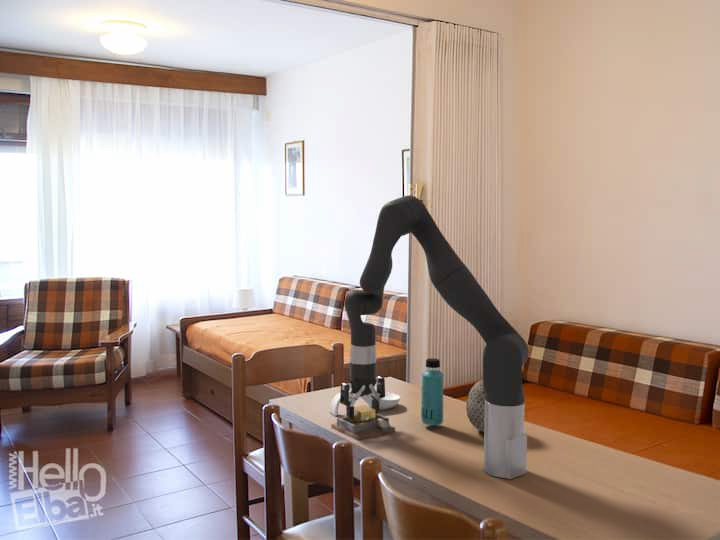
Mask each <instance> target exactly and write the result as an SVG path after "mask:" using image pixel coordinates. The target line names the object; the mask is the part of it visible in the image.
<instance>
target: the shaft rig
mask: <svg viewBox="0 0 720 540" xmlns="http://www.w3.org/2000/svg"><path fill="white" fill-rule="evenodd" d="M346 412H347V411H346V410H345V412H344V414H343V415H344V416H343V417H337V418H336V422H335V423H331V424H330V427H331V429H333V430H336V431H338V432H340V433H341V434H344V435H347V436H348V437H350V438H352V439H355V440H356V441H361V440H364V439H369V438H372V437H376V436H381V435H385V434H389V433H394V432H395V431H396V428H395V427H394V426H392V425H391V424H390V417H387V416H385V415H382V414H380V413H378V414H375V420H374V421H370V422H366V423H361V424H357V425H354V424H351V419H349V418H348V417H347V415H346Z"/></svg>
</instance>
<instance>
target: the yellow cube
mask: <svg viewBox="0 0 720 540" xmlns="http://www.w3.org/2000/svg"><path fill="white" fill-rule="evenodd" d="M374 420H375V409H373V408H371V407H370V406H369V405H365V404H364V405H360V406H354V419H352V420H351V424H354V425H357V424H361V423H366V422H370V421H374Z"/></svg>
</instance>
